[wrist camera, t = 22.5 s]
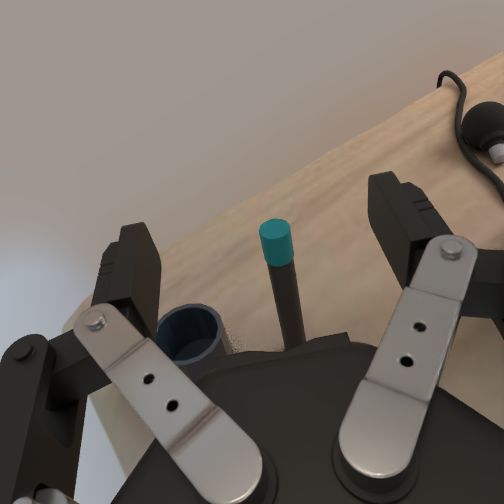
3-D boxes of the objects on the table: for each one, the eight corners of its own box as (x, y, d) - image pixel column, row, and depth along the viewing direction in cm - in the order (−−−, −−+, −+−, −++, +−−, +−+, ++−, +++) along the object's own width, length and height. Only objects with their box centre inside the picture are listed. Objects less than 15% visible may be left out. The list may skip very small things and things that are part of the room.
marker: (290, 336, 45) (267, 215, 34) (311, 343, 44) (295, 221, 32) (280, 354, 43) (253, 235, 32) (302, 362, 42) (281, 241, 31)
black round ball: (495, 147, 55) (469, 92, 59) (469, 177, 61) (447, 124, 65) (540, 145, 56) (511, 91, 60) (510, 175, 62) (485, 123, 66)
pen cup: (194, 330, 48) (178, 295, 44) (247, 350, 44) (235, 315, 40) (156, 382, 44) (135, 349, 39) (211, 408, 40) (195, 376, 36)
